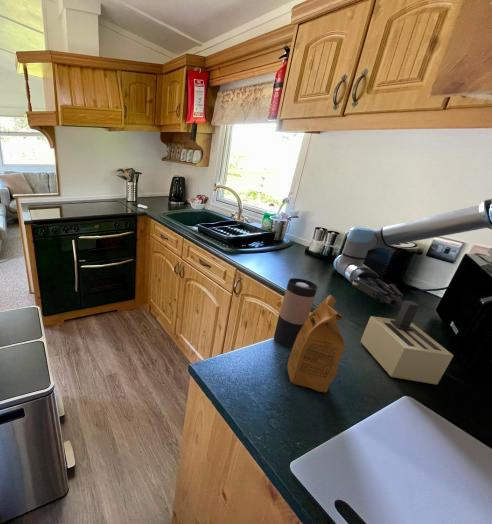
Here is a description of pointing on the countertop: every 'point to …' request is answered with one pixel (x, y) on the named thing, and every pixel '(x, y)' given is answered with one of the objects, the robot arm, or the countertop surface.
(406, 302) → the slide button
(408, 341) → the toaster
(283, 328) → the travel mug
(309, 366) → the coffee package
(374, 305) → the countertop surface
